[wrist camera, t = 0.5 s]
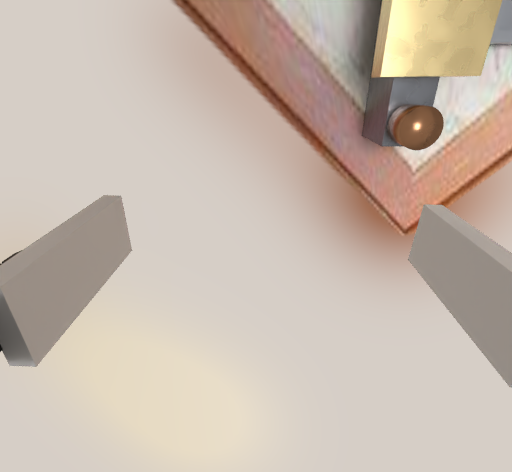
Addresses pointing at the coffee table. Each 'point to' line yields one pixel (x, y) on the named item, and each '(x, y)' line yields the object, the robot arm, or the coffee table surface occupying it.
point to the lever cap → (434, 37)
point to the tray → (503, 25)
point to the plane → (402, 111)
